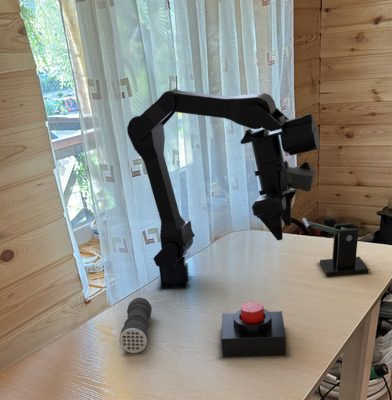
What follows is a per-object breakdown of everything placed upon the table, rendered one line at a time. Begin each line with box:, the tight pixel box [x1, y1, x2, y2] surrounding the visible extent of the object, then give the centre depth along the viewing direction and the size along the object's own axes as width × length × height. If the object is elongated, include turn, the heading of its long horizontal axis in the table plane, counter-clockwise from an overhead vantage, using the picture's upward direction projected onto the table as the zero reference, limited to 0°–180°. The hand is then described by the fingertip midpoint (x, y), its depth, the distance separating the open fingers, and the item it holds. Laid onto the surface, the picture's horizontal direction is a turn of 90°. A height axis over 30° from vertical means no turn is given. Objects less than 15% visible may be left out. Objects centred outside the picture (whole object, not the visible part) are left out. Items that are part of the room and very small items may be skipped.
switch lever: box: [301, 217, 349, 235], centre depth 123 cm, size 12×6×2 cm, turn 92°
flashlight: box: [118, 297, 152, 354], centre depth 108 cm, size 15×5×5 cm, turn 0°
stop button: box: [240, 301, 265, 323], centre depth 99 cm, size 4×4×2 cm
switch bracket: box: [319, 222, 369, 278], centre depth 126 cm, size 10×8×11 cm
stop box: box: [220, 308, 287, 358], centre depth 101 cm, size 12×10×6 cm
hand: (284, 232), depth 113 cm, fingers open, 9 cm apart
